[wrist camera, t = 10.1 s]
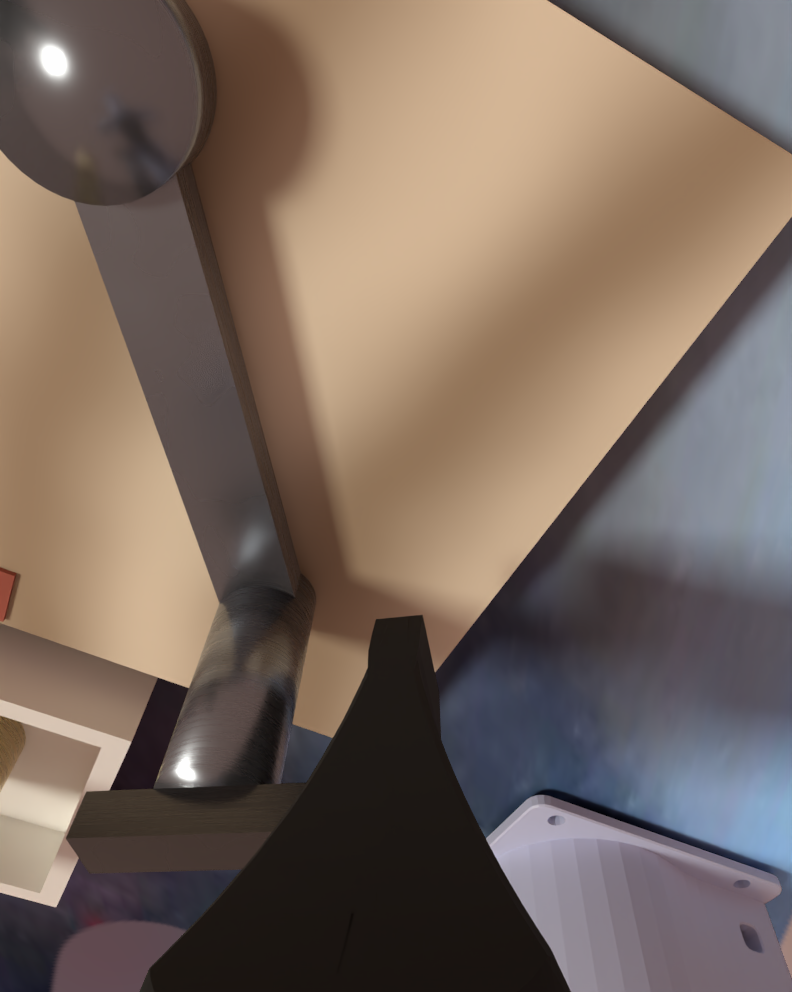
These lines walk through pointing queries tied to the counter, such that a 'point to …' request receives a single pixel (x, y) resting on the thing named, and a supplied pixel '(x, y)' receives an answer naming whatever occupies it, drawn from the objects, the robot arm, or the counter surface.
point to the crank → (172, 406)
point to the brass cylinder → (10, 746)
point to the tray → (58, 752)
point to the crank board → (377, 320)
